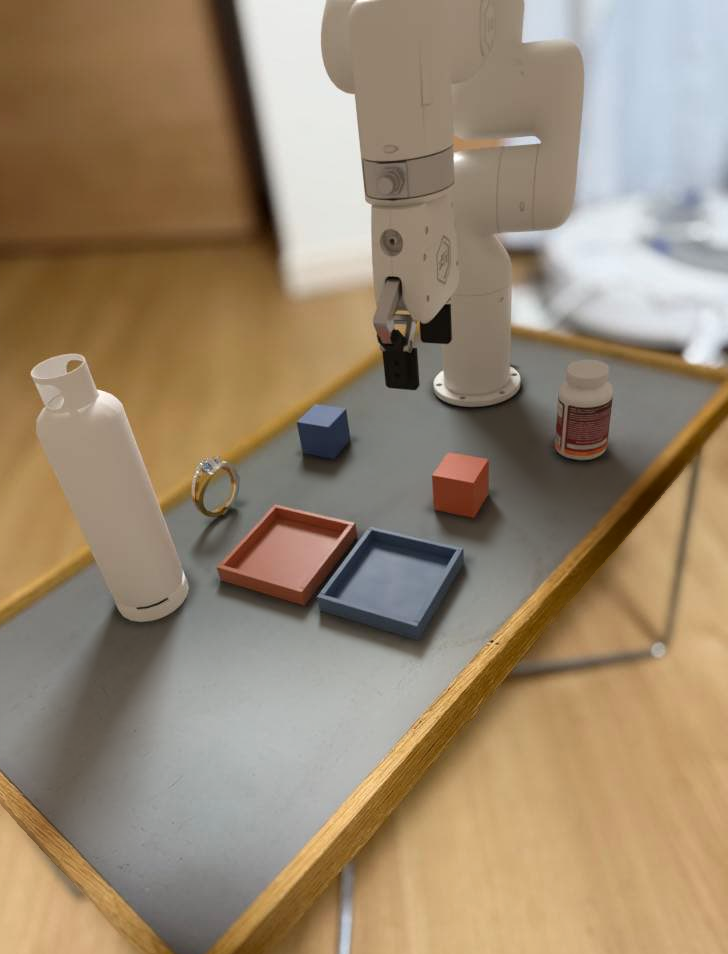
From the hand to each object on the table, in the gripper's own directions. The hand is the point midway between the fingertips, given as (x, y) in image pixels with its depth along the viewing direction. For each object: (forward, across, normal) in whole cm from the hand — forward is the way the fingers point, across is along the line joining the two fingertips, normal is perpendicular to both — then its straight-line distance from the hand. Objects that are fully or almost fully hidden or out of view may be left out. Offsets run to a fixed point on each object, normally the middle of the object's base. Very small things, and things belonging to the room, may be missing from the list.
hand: (420, 363), depth 69 cm
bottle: (+20, -21, +25) cm, 38 cm away
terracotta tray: (+20, -10, +13) cm, 26 cm away
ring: (+20, -5, +26) cm, 33 cm away
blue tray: (+20, -11, 0) cm, 23 cm away
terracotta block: (+20, +4, -2) cm, 21 cm away
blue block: (+20, +12, +19) cm, 30 cm away
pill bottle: (+20, +19, -13) cm, 31 cm away
